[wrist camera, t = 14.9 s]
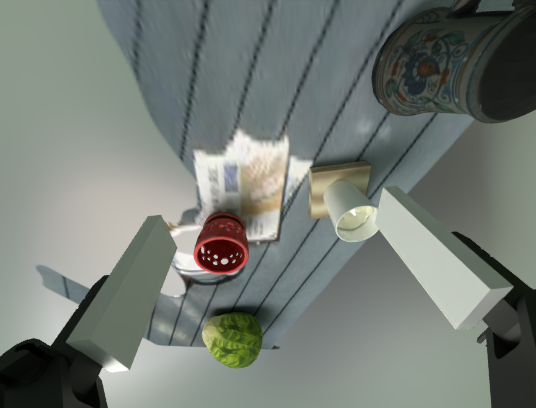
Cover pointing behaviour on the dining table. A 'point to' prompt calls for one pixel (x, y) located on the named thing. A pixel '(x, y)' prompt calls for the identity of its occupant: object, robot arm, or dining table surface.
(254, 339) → the lettuce
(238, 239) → the plant pot
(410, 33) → the beer stein
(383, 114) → the dining table surface
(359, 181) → the plinth
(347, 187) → the candle holder
